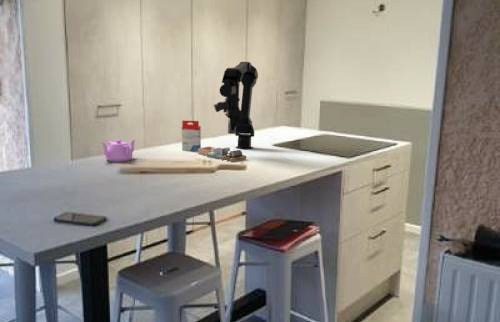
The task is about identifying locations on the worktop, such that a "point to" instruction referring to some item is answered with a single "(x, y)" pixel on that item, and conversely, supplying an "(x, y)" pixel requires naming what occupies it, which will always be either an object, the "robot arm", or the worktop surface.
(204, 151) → the salmon pink square tray
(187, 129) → the ink box
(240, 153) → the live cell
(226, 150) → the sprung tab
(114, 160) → the teapot
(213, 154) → the grey flat block
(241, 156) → the trough
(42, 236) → the worktop surface
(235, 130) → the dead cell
